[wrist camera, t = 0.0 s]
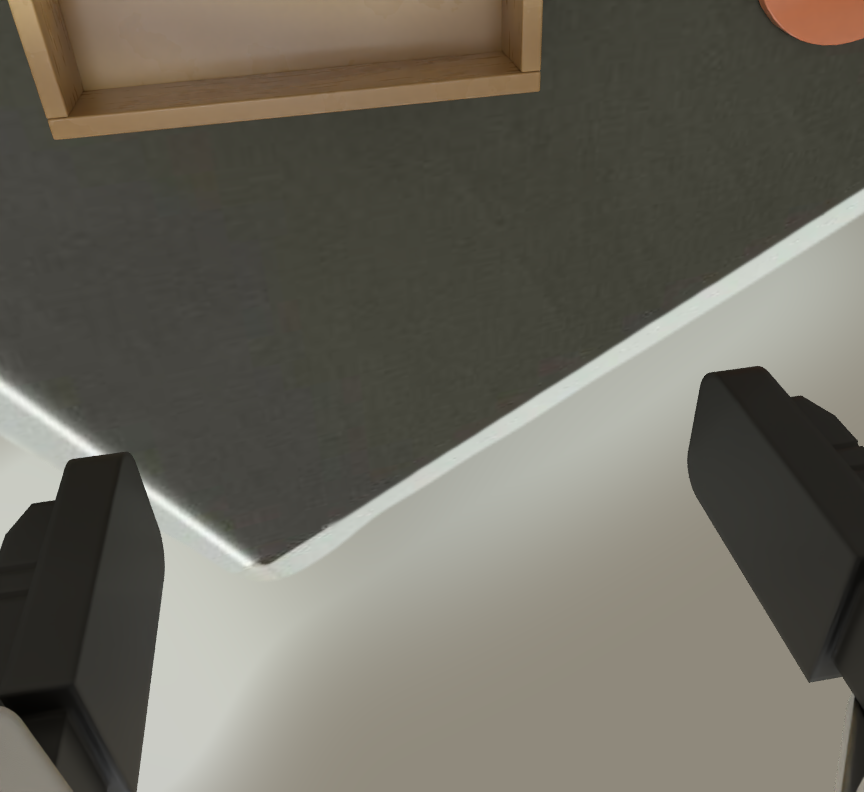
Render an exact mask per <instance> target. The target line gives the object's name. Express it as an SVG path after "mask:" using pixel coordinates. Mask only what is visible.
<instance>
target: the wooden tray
mask: <svg viewBox="0 0 864 792" xmlns="http://www.w3.org/2000/svg"><path fill="white" fill-rule="evenodd" d="M8 3H9V6H10V9H11V12H12V15H13V18H14V21H15V24H16V27H17V30H18V33H19V36H20V39H21V42H22V45H23V48H24V51H25V54H26V57H27V60H28V63H29V66H30V70H31V73H32V76H33V79H34V82H35V85H36V88H37V91H38V94H39V97H40V100H41V103H42V106H43V109H44V112H45V115H46V117H47V118H48V124H49V127H50V130H51V133H52V136H53V138H54V140H60V139H70V138H80V137H90V136H100V135H110V134H120V133H130V132H140V131H150V130H160V129H170V128H180V127H190V126H200V125H210V124H220V123H230V122H240V121H250V120H260V119H269V118H279V117H289V116H299V115H309V114H319V113H329V112H339V111H349V110H359V109H369V108H379V107H389V106H399V105H409V104H419V103H429V102H439V101H449V100H459V99H469V98H479V97H489V96H498V95H508V94H518V93H528V92H538V91H540V75H541V73H540V71H539V70H540V69H541V45H542V12H543V0H8Z"/></svg>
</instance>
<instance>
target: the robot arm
mask: <svg viewBox="0 0 864 792" xmlns="http://www.w3.org/2000/svg"><path fill="white" fill-rule="evenodd" d="M687 464H688V473H689V478H690V482H691V485H692V488H693V491H694V493H695V495H696V497H697V499H698V500H699V502H700V504H701V505H702V507H703V509H704V510H705V512H706V513H707V515H708V517H709V519H710V520H711V522H712V524H713V525H714V527H715V528H716V530H717V532H718V533H719V535H720V537H721V538H722V540H723V542H724V543H725V545H726V547H727V548H728V550H729V552H730V553H731V555H732V557H733V558H734V560H735V561H736V563H737V565H738V566H739V568H740V570H741V571H742V573H743V575H744V576H745V578H746V580H747V581H748V583H749V585H750V586H751V588H752V590H753V591H754V593H755V594H756V596H757V598H758V599H759V601H760V603H761V604H762V606H763V607H764V609H765V611H766V613H767V614H768V616H769V618H770V619H771V621H772V622H773V624H774V626H775V627H776V629H777V631H778V632H779V634H780V636H781V637H782V639H783V641H784V642H785V644H786V645H787V647H788V649H789V650H790V652H791V654H792V655H793V657H794V659H795V660H796V662H797V664H798V665H799V667H800V669H801V670H802V672H803V674H804V675H805V677H806V678H807V680H808V682H809V683H810V682H815V681H821V680H826V679H832V678H838V677H843V679H844V680H845V681H846V683H847V685H848V686H849V688H850V689H851V691H852V694H851V697H850V699H849V701H848V704H847V708H846V715H845V721H844V728H843V735H842V742H841V749H840V756H839V763H838V769H837V775H836V782H835V789H834V792H864V447H863V446H858V441H857V440H856V438H855V437H854V436H853V435H852V434H851V433H850V432H849V431H848V430H847V429H846V427H845V426H844V425H843V424H842V423H841V422H840V421H839V420H838V419H837V417H836V416H835V415H833V414H831V413H830V412H828V411H826V410H825V409H823V408H821V407H820V406H818V405H816V404H815V403H813V402H811V401H809V400H808V399H806V398H804V397H803V396H795V397H790V396H789V395H788V394H787V393H786V392H785V391H784V389H783V388H782V387H781V386H780V385H779V384H778V382H777V381H776V380H775V379H774V378H773V377H772V376H771V374H770V373H769V372H768V371H767V370H766V369H764V368H763V367H760V366H755V367H747V368H740V369H733V370H726V371H718V372H711V373H708V374H706V375H705V376H704V378H703V379H702V382H701V385H700V390H699V395H698V400H697V406H696V411H695V417H694V422H693V428H692V433H691V439H690V445H689V450H688V458H687ZM164 571H165V563H164V550H163V544H162V538H161V534H160V530H159V527H158V524H157V522H156V519H155V516H154V513H153V510H152V507H151V505H150V502H149V499H148V496H147V493H146V490H145V488H144V485H143V482H142V479H141V476H140V473H139V471H138V468H137V465H136V462H135V460H134V458H133V456H132V455H131V454H130V453H129V452H121V453H113V454H106V455H99V456H92V457H84V458H77V459H71V460H69V461H68V463H67V464H66V467H65V469H64V473H63V476H62V480H61V483H60V487H59V490H58V493H57V497H56V500H54V501H47V502H40V503H34V504H31V506H30V507H29V508H28V509H27V510H26V511H25V513H24V514H23V515H22V516H21V517H20V518H19V520H18V521H17V522H16V523H15V525H13V527H12V528H11V529H10V530H9V532H8V533H7V534H6V535H5V538H4V540H3V543H2V546H1V549H0V792H136V791H137V783H138V776H139V769H140V761H141V753H142V745H143V737H144V730H145V722H146V714H147V706H148V699H149V691H150V683H151V675H152V667H153V660H154V652H155V643H156V635H157V628H158V621H159V612H160V604H161V597H162V589H163V582H164Z"/></svg>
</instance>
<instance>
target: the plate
mask: <svg viewBox="0 0 864 792" xmlns="http://www.w3.org/2000/svg"><path fill="white" fill-rule="evenodd" d="M759 2H760V5H761V7H762V9H763V10H764V12H765V13H766V15H767V16H768V18H769V19H770V20H771V21H772V22H773V23H774V24H775V25H776V26H777V27H778V28H779V29H781V30H782V31H783V32H785V33H786V34H788V35H790V36H792V37H794V38H796V39H798V40H801V41H804V42H807V43H810V44H816V45H839V44H845V43H849V42H853V41H856V40H859V39H862V38H864V0H759Z"/></svg>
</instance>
